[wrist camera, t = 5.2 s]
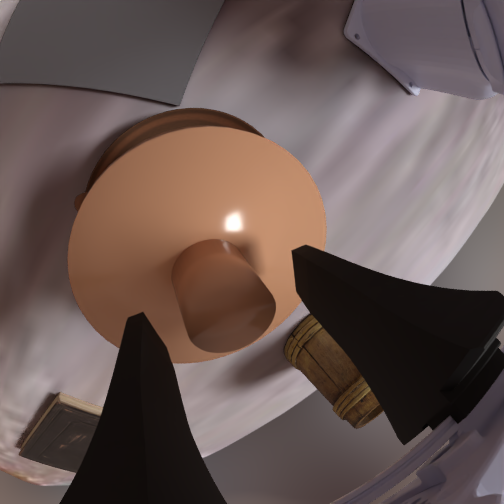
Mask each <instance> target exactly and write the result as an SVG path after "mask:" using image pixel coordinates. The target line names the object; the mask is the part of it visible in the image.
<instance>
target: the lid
mask: <svg viewBox="0 0 504 504" xmlns="http://www.w3.org/2000/svg"><path fill="white" fill-rule="evenodd" d="M326 228H327V227H326V215H325V210H324V206H323V201H322V198H321V196H320V193H319V191H318V188H317V186H316V184H315V182H314V181H313V179H312V177H311V176H310V174H309V173H308V171H307V170H306V169H305V168H304V167H303V165H302V164H301V163H300V162H299V161H298V160H297V159H296V158H295V157H294V156H293V155H291V154H290V153H289V152H288V151H287V150H285V149H284V148H282V147H280V146H279V145H277V144H276V143H274V142H272V141H270V140H268V139H266V138H263V137H261V136H259V135H256V134H254V133H250V132H247V131H243V130H238V129H234V128H230V127H223V126H209V125H205V126H192V127H184V128H180V129H175V130H171V131H167V132H164V133H161V134H159V135H156V136H154V137H151V138H149V139H147V140H144V141H143V142H141V143H139V144H138V145H136V146H134V147H132V148H131V149H129V150H128V151H126V152H125V153H124V154H122V155H121V156H120V157H119V158H117V159H116V160H115V161H114V162H113V163H111V164H110V165H109V166H108V167H107V168H106V170H105V171H104V172H103V173H102V174H101V175H100V176H99V177H98V179H97V180H96V181H95V182H94V184H93V186H92V187H91V189H90V190H89V192H88V193H87V195H86V196H85V198H84V200H83V203H82V205H81V207H80V209H79V212H78V214H77V216H76V219H75V221H74V224H73V227H72V231H71V235H70V240H69V246H68V260H67V261H68V273H69V280H70V284H71V288H72V292H73V295H74V297H75V299H76V302H77V304H78V306H79V308H80V310H81V311H82V313H83V315H84V316H85V318H86V319H87V321H88V322H89V323H90V324H91V325H92V327H93V328H94V329H95V330H96V331H97V332H98V333H99V334H100V335H101V336H103V337H104V338H105V339H106V340H107V341H109V342H110V343H112V344H113V345H115V346H116V347H118V348H120V344H121V340H122V336H123V332H124V328H125V324H126V321H127V318H128V317H130V316H133V315H135V314H138V313H140V312H144V314H145V315H146V317H147V318H148V320H149V321H150V323H151V324H152V326H153V328H154V329H155V331H156V332H157V334H158V335H159V336H160V338H161V339H162V341H163V342H164V344H165V345H166V347H167V349H168V352H169V355H170V358H171V361H172V363H195V362H202V361H208V360H213V359H216V358H220V357H224V356H226V355H229V354H232V353H235V352H237V351H239V350H241V349H243V348H246V347H248V346H250V345H251V344H253V343H255V342H257V341H258V340H260V339H262V338H263V337H264V336H266V335H267V334H269V333H270V332H272V331H273V330H274V329H275V328H276V327H278V326H279V325H280V324H281V323H282V322H283V321H284V320H285V319H286V318H287V317H288V316H289V315H290V314H291V313H292V312H293V311H294V310H295V309H296V307H297V306H298V305H299V304H300V303H301V301H302V300H301V298H300V297H299V295H298V294H297V292H296V287H295V278H294V269H293V261H292V252H291V250H293V249H296V248H298V247H301V246H303V245H305V244H306V245H309V246H312V247H315V248H317V249H320V250H322V251H324V249H325V243H326Z"/></svg>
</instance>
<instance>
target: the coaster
mask: <svg viewBox="0 0 504 504" xmlns="http://www.w3.org/2000/svg"><path fill="white" fill-rule="evenodd" d="M224 1H225V0H20V1H19V3H18V5H17V7H16V9H15V11H14V13H13V15H12V17H11V19H10V21H9V24H8V26H7V28H6V31H5V33H4V35H3V38H2V40H1V43H0V83H26V84H48V85H61V86H72V87H81V88H89V89H96V90H103V91H110V92H116V93H121V94H127V95H132V96H137V97H142V98H147V99H152V100H156V101H161V102H165V103H169V104H173V105H177V106H180V103H181V100H182V98H183V95H184V92H185V89H186V87H187V84H188V81H189V79H190V76H191V74H192V71H193V69H194V66H195V64H196V61H197V59H198V56H199V54H200V52H201V49H202V47H203V45H204V42H205V40H206V38H207V36H208V34H209V31H210V29H211V27H212V25H213V23H214V21H215V19H216V17H217V15H218V13H219V11H220V9H221V7H222V5H223V3H224Z"/></svg>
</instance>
